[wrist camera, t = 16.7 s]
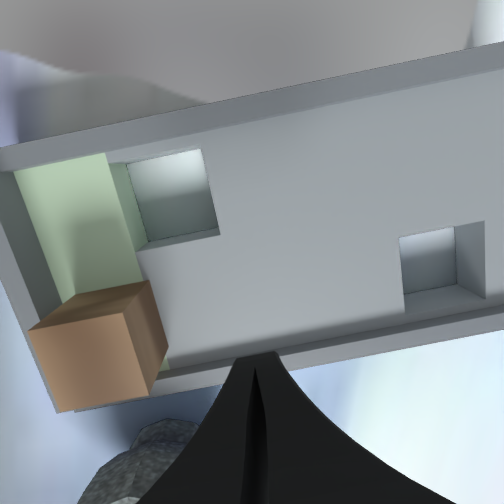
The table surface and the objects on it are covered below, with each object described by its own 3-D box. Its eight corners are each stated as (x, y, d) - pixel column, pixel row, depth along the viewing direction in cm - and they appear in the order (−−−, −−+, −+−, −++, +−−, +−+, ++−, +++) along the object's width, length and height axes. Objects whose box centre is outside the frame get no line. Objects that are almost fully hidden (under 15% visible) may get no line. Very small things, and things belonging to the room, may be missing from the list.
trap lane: (475, 60, 17) (555, 24, 13) (481, 301, 21) (545, 336, 16) (19, 156, 18) (-53, 152, 13) (100, 375, 21) (63, 429, 17)
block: (149, 279, 17) (122, 312, 13) (168, 346, 18) (148, 395, 14) (75, 294, 17) (26, 331, 13) (98, 360, 18) (60, 411, 14)
